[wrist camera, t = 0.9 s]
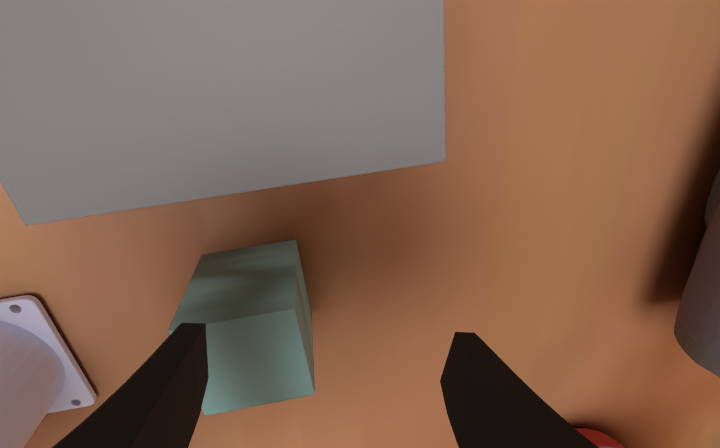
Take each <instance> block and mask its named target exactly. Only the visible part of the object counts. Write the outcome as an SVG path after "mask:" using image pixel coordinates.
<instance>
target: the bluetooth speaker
mask: <svg viewBox="0 0 720 448" xmlns="http://www.w3.org/2000/svg"><path fill="white" fill-rule="evenodd" d="M704 218H705V222H706V225H707V229H706V232H705V234H704V237H703V239H702V242H701V244H700V246H699V249H698V251H697V254H696V260H695V263H694V265H693V268H692V271H691V273H690V276H689V278H688V281H687V284H686V286H685V289H684V292H683V295H682V298H681V302H680V305H679V310H678V312H677V317H676V322H675V327H674V334H675V337H676V339H677V341H678V343H679V345H680V346H681V347H682V349H683V350H684V351H685V352H686V353H687V355H688V356H689V357H690V358H691V359H693V360H694V361H695V362H696V363H697V364H699V365H700V366H702V367H704V368H705V369H707V370H708V371H710V372H712V373H713V374H715V375H717V376H719V377H720V168H719V171H718V173H717V175H716V178H715V180H714V183H713V186H712V189H711V192H710V195H709V198H708V201H707V205H706V210H705V215H704Z"/></svg>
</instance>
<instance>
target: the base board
mask: <svg viewBox="0 0 720 448" xmlns="http://www.w3.org/2000/svg"><path fill="white" fill-rule="evenodd" d="M444 161H446V157H445V82H444V8H443V0H0V182H1V183H2V185H3V187H4V189H5V191H6V192H7V194H8V196H9V198H10V199H11V201H12V203H13V205H14V207H15V208H16V210H17V212H18V214H19V215H20V217H21V219H22V221H23V223H24V224H25V226H27V225H34V224H40V223H47V222H53V221H60V220H66V219H73V218H79V217H86V216H92V215H99V214H105V213H112V212H118V211H125V210H131V209H138V208H144V207H151V206H158V205H164V204H171V203H177V202H184V201H190V200H197V199H203V198H210V197H216V196H223V195H229V194H236V193H242V192H249V191H255V190H262V189H268V188H275V187H281V186H288V185H294V184H301V183H307V182H314V181H320V180H327V179H333V178H340V177H346V176H353V175H359V174H366V173H373V172H379V171H386V170H392V169H399V168H405V167H412V166H418V165H425V164H431V163H438V162H444Z"/></svg>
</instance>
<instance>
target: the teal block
mask: <svg viewBox="0 0 720 448" xmlns="http://www.w3.org/2000/svg"><path fill="white" fill-rule="evenodd" d="M181 323H206V340H207V358H208V375H209V378H208V382H207V386H206V391H205V395H204V399H203V403H202V407H201V408H202V411H203V413H204V415H205V416H206V415H211V414H217V413H222V412H227V411H232V410H237V409H242V408H248V407H253V406H258V405H263V404H268V403H273V402H278V401H284V400H289V399H294V398H299V397H304V396H309V395H315V386H314V362H313V337H312V312H311V308H310V303H309V298H308V294H307V289H306V284H305V279H304V275H303V270H302V265H301V261H300V256H299V251H298V247H297V242H296V239H295V240H289V241H283V242H277V243H271V244H265V245H259V246H253V247H247V248H240V249H234V250H228V251H222V252H216V253H210V254H204V255H202V256H201V258H200V260H199V262H198V265H197V267H196V269H195V271H194V274H193V276H192V278H191V280H190V283H189V285H188V287H187V289H186V291H185V294H184V296H183V298H182V300H181V303H180V305H179V307H178V309H177V312H176V314H175V316H174V318H173V321H172V323H171V325H170V327H169V330H168V333H169V335H171V333H172V332H173V331H174V330H175V329H176V328H177V327H178V326H179V325H180V324H181Z"/></svg>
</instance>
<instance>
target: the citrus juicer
mask: <svg viewBox="0 0 720 448" xmlns="http://www.w3.org/2000/svg"><path fill="white" fill-rule="evenodd" d="M575 429H576V430H577V431H578V432H580V433H581V434H582V435H583V436H585V437H586V438H587V439H588V440H590V441H591V442H592V443H594V444H595V445H596V446H597V447H599V448H626V447H624V446H623V445H622V444H620V443H619V442H617V441H616V440H614V439H613V438H611V437H609V436H608V435H606V434H604V433H602V432H600V431H597V430H592V429H585V428H575Z"/></svg>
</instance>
